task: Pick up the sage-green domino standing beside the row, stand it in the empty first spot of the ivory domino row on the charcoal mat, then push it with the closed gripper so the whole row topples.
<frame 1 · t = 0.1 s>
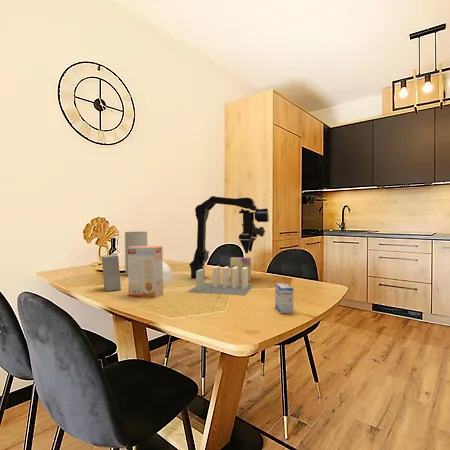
hand: (248, 252, 157), 15 cm above the table, tool pointing down, fingers open, 9 cm apart
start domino: (200, 290, 135), resting on mat
skincare box: (111, 289, 141), on the table
domino 4: (235, 287, 141), resting on mat
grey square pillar: (136, 275, 178), on the table
medicine box: (284, 310, 106), on the table
domino 5: (245, 287, 139), resting on mat
domino 3: (226, 286, 142), resting on mat
mat: (221, 289, 138), on the table
teardrop: (162, 281, 159), on the table
domino 2: (216, 286, 143), resting on mat
box: (240, 280, 158), on the table
cracker box: (145, 296, 128), on the table
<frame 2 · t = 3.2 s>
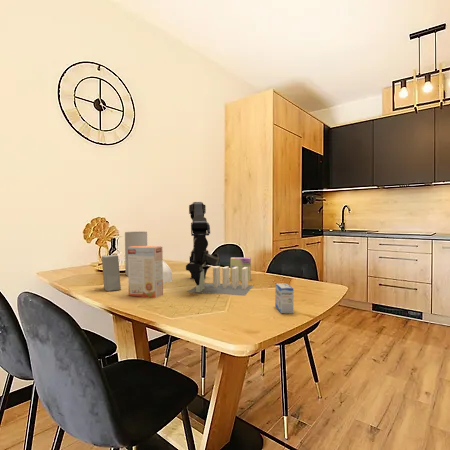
hand: (200, 283, 135), 4 cm above the table, tool pointing down, fingers closed on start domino, 6 cm apart
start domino: (200, 290, 135), point 1 cm above the table, touching gripper, mat
everything else where it was.
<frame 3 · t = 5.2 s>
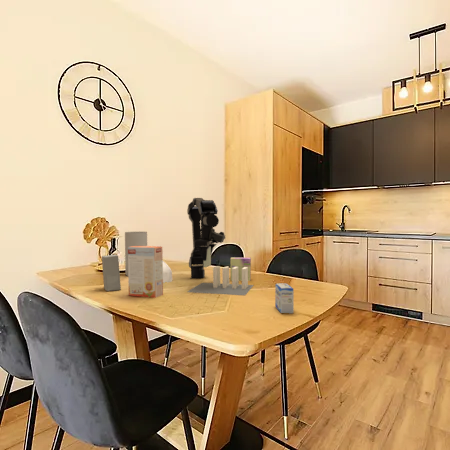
hand: (207, 259, 144), 13 cm above the table, tool pointing down, fingers closed on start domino, 6 cm apart
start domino: (207, 266, 144), point 10 cm above the table, touching gripper
everything else where it was.
when the fingers open (4 cm above the table, at t = 7.2 s): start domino stays where it is, resting on mat.
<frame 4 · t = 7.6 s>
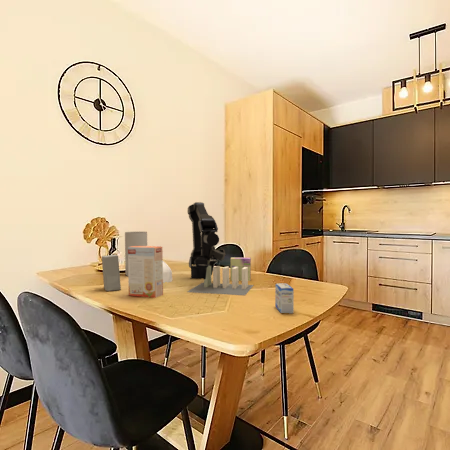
hand: (207, 277, 144), 4 cm above the table, tool pointing down, fingers open, 9 cm apart
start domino: (207, 285, 144), resting on mat
everything else where it was.
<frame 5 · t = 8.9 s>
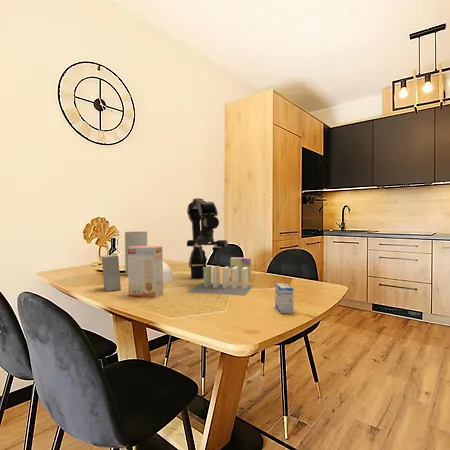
hand: (207, 261, 144), 12 cm above the table, tool pointing down, fingers open, 6 cm apart
nothing on the table moved.
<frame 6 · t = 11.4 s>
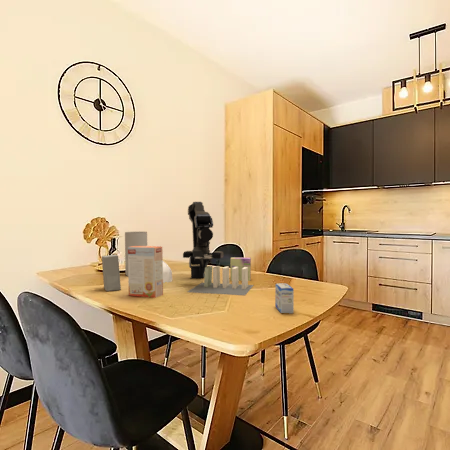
hand: (203, 272, 145), 7 cm above the table, tool pointing down, fingers closed
nothing on the table moved.
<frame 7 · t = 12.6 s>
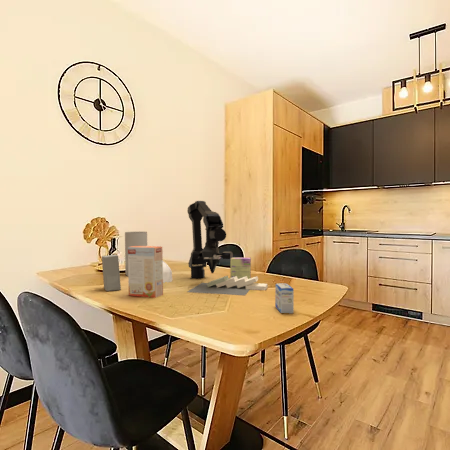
hand: (212, 273, 143), 7 cm above the table, tool pointing down, fingers closed
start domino: (209, 284, 144), point 1 cm above the table, tilted 69°, touching domino 2
domino 4: (238, 285, 140), point 1 cm above the table, tilted 69°, touching domino 3, domino 5
domino 5: (246, 285, 139), point 1 cm above the table, tilted 90°, touching domino 4, mat
domino 3: (228, 285, 141), point 1 cm above the table, tilted 69°, touching domino 2, domino 4, mat
domino 2: (218, 284, 143), point 1 cm above the table, tilted 70°, touching domino 3, mat, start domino
everything else where it was.
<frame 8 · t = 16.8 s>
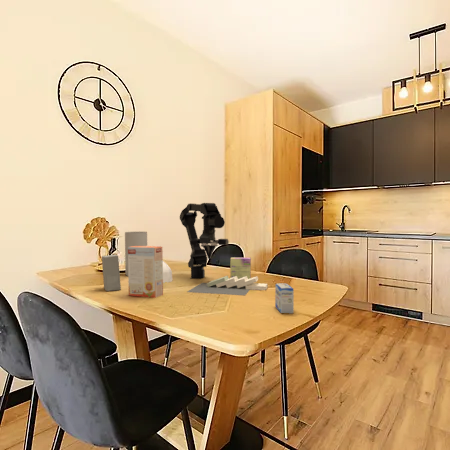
hand: (209, 258, 153), 12 cm above the table, tool pointing down, fingers closed
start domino: (209, 284, 144), point 1 cm above the table, tilted 69°, touching domino 2, mat
everything else where it was.
at the end: domino 5 tilted 90°; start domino tilted 69°; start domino inside the target area (2.2 cm from its centre), point 1.3 cm above the table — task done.
